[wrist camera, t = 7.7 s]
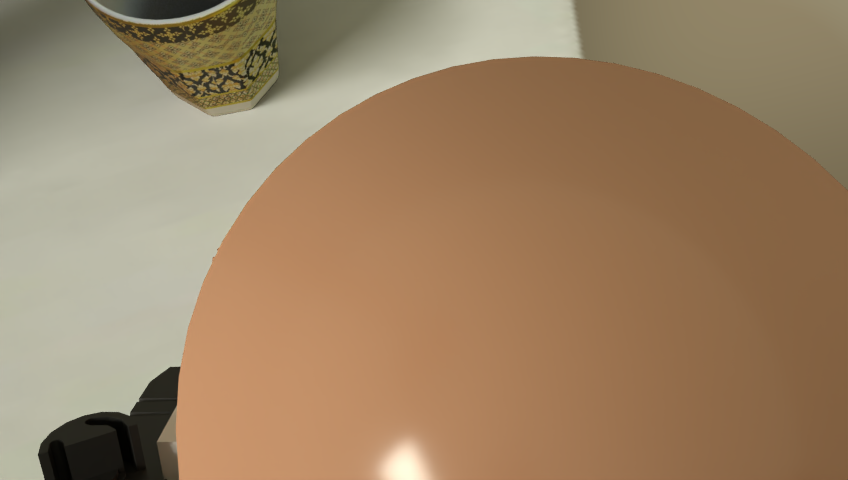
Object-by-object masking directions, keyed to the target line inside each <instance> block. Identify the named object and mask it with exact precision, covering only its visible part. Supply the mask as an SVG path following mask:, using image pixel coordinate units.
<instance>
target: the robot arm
mask: <svg viewBox="0 0 848 480" xmlns="http://www.w3.org/2000/svg"><path fill="white" fill-rule="evenodd" d="M180 368H181V367H170V368H168V369H167V370H166V371H164V372H163V373H162V374H160V375H159V376H157V377H156V378H155V379H153V380H152V381H151V382H150V383H149V385H148V386H147V388H146V389H145V391H144V392H143V394H142V395H141V397H140V398H139V402H137V403H136V405H135V406H134V408H133V409H132V411H131V412H130V416H128V415H125V414H122V413H119V412H100V413H95V414H90V415H85V416H82V417H79V418H77V419H74V420H72V421H69V422H67V423H65V424H63V425H62V426H60V427H59V428H57V429H56V430H54V431H53V432H51V433H50V434H49V435H48V436H47V438H46V439H45V440H44V441H43V442H42V443H41V446H40V449H39V453H38V457H39V460H40V464H41V468H42V471H43V475H44V478H45V480H179V469H178V455H177V441H176V416H177V399H178V382H179V373H180Z"/></svg>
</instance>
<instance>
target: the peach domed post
mask: <svg viewBox="0 0 848 480" xmlns="http://www.w3.org/2000/svg"><path fill="white" fill-rule="evenodd" d="M217 250H218V252H217V254H216V256H215V257H213V260H212V265H211V267H210V269H209V271H208V273H207V275H206V277H205V279H204V282H203V284H202V287H201V290H200V293H199V296H198V299H197V303H196V306H195V309H194V312H193V315H192V318H191V321H190V324H189V327H188V331H187V337H186V342H185V347H184V352H183V358H182V363H181V368H180V373H179V382H178V399H177V416H176V441H177V455H178V469H179V480H848V190H847V189H845V188H844V187H843V186H842V185H841V184H840V183H839V182H838V181H837V180H836V179H835V178H834V177H833V176H831V175H830V174H829V173H828V172H827V171H826V170H825V169H824V168H823V167H822V166H821V165H820V164H819V163H817V162H816V161H815V160H814V159H813V158H812V157H811V156H809V155H808V154H807V153H805V152H804V151H803V150H801V149H800V148H799V147H797V146H796V145H795V144H793V143H792V142H791V141H789V140H788V139H787V138H785V137H784V136H783V135H781V134H780V133H779V132H777V131H776V130H774V129H773V128H771V127H769V126H768V125H766V124H765V123H763V122H761V121H760V120H758V119H756V118H755V117H753V116H751V115H749V114H748V113H746V112H745V111H743V110H741V109H740V108H738V107H736V106H734V105H732V104H730V103H728V102H726V101H724V100H721V99H719V98H717V97H715V96H713V95H711V94H709V93H707V92H704V91H703V90H700V89H698V88H696V87H692V86H690V85H687V84H684V83H682V82H679V81H676V80H673V79H670V78H668V77H665V76H662V75H659V74H656V73H651V72H648V71H644V70H640V69H636V68H631V67H627V66H623V65H619V64H615V63H608V62H600V61H593V60H586V59H579V58H562V57H520V58H506V59H492V60H487V61H481V62H476V63H470V64H465V65H459V66H454V67H450V68H447V69H443V70H440V71H437V72H433V73H430V74H427V75H423V76H420V77H416V78H413V79H411V80H408V81H406V82H404V83H401V84H399V85H397V86H394V87H392V88H390V89H387V90H385V91H383V92H380V93H378V94H376V95H374V96H372V97H370V98H369V99H367V100H365V101H363V102H362V103H360V104H358V105H356V106H355V107H353V108H351V109H349V110H348V111H346V112H344V113H342V114H341V115H339V116H338V117H336V118H335V119H334V120H332V121H331V122H330V123H328V124H327V125H325V126H324V127H323V128H321V129H320V130H319V131H317V132H316V133H315V134H313V135H312V136H311V137H309V138H308V139H307V140H305V141H304V142H303V143H302V144H301V145H300V146H299V147H298V148H297V149H296V150H295V151H294V152H293V153H292V154H291V155H289V156H288V157H287V158H286V159H285V160H284V161H283V162H282V163H281V164H280V165H279V166H278V167H277V168H276V169H275V170H274V171H273V172H272V173H271V175H270V176H269V177H268V178H267V179H266V181H265V182H264V183H263V184H262V185H261V187H260V188H259V189H258V190H257V191H256V193H255V194H254V195H253V196H252V197H251V199H250V200H249V201H248V202H247V204H246V205H245V207H244V208H243V210H242V212H241V213H240V215H239V216H238V218H237V219H236V221H235V222H234V224H233V226H232V227H231V229H230V230H229V232H228V233H227V235H226V237H225V238H224V240H223V242H222V244H221V246H220V247H219V248H218V249H217Z"/></svg>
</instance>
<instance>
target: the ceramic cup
mask: <svg viewBox="0 0 848 480" xmlns="http://www.w3.org/2000/svg"><path fill="white" fill-rule="evenodd" d="M85 1H86V2H87V4H88V5H89V6H90V7H91V9H92V10H93V11H94V12H95V13H96V15H97V16H98V17H99V18H100V19H101V20H102V21H103V22H104V23H105V24H106V25H107V26H108V27H109V28H110V29H111V30H112V32H113V33H114V34H115V35H116V36H117V37H118V38H120V39H121V40H122V41H123V42H124V43H125V44H126V45H128V46H129V47H130V48H131V49H132V50H133V51H134V52H135V53H136V54H137V56H138V57H139V58H140V59H141V60H142V61H143V62H144V63H145V64H146V65H147V66H148V67H149V68H150V69H151V70H152V71H153V72H154V73H155V74H156V76H157V77H159V79H160V80H161V81H162V82H163V83H164V84H165V85H166V86H167V88H168V89H170V90H171V91H172V92H173V93H174V94H175V95H176V96H177V97H178V98H180V99H182V100H183V101H185V102H187V103H189V104H190V105H192V106H194V107H196V108H197V109H199V110H201V111H203V112H205V113H206V114H208V115H211V116H219V115H224V114H229V113H234V112H240V111H245V110H250V109H252V108H253V107H254V106H255V105H256V104H257V103H258V101H259V100H260V99H261V98H262V97H263V96H264V95H265V93H266V92H267V91H268V90H269V89H270V88H271V86H272V85H273V84H274V83H275V82H276V80H277V78H278V77H279V62H278V48H277V29H276V5H277V0H85Z"/></svg>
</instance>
